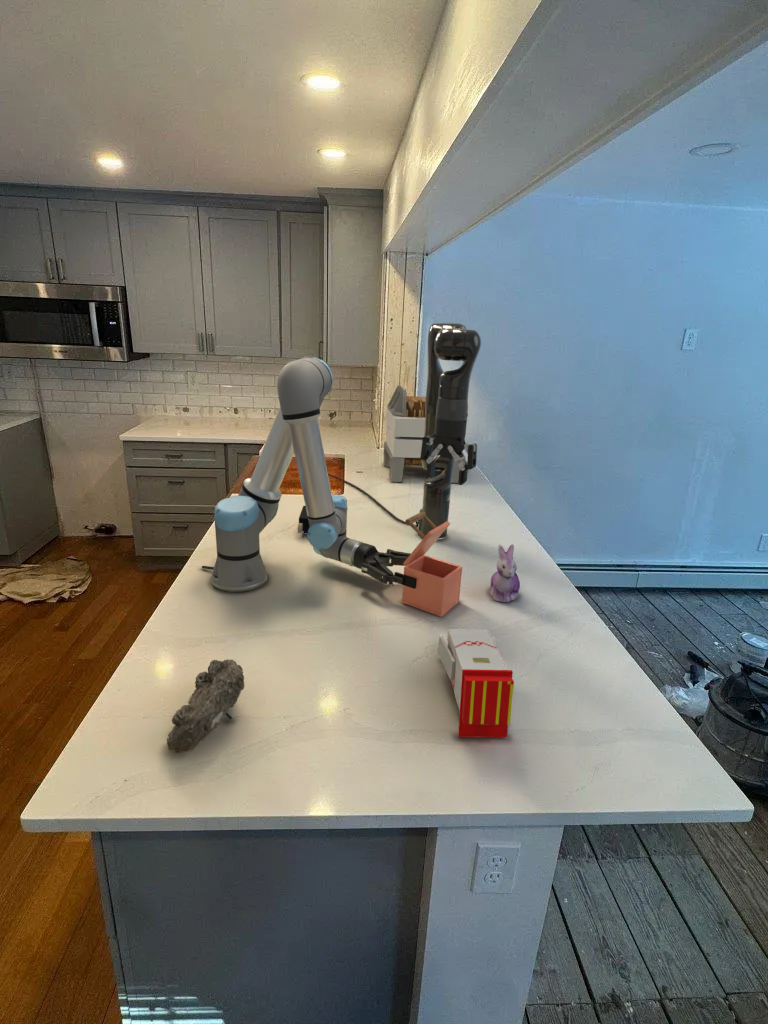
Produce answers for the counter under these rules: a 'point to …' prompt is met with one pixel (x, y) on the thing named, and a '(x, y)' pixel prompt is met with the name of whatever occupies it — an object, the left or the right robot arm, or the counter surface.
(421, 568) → the chest
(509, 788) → the counter surface
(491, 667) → the toy
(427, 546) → the lid
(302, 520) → the figurine character
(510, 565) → the figurine
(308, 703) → the counter surface
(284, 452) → the left robot arm
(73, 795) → the counter surface
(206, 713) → the fossil
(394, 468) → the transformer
